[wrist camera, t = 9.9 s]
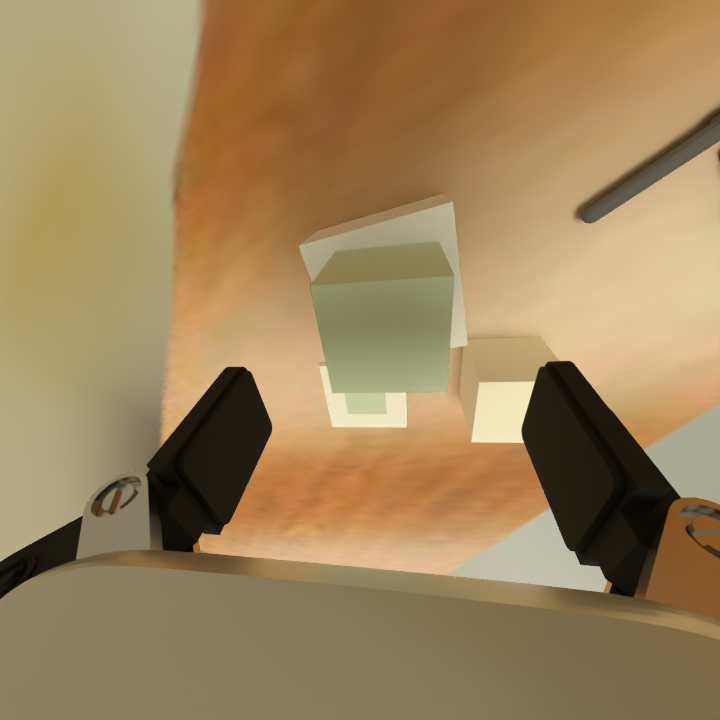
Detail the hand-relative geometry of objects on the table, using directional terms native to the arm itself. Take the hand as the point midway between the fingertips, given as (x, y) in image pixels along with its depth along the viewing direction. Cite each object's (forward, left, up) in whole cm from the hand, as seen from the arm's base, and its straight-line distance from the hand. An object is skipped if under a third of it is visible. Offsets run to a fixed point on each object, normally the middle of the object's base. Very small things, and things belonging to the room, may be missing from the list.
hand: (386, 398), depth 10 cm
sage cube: (0, 0, -10) cm, 10 cm away
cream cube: (+10, +9, -15) cm, 20 cm away
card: (+13, -3, -15) cm, 20 cm away
